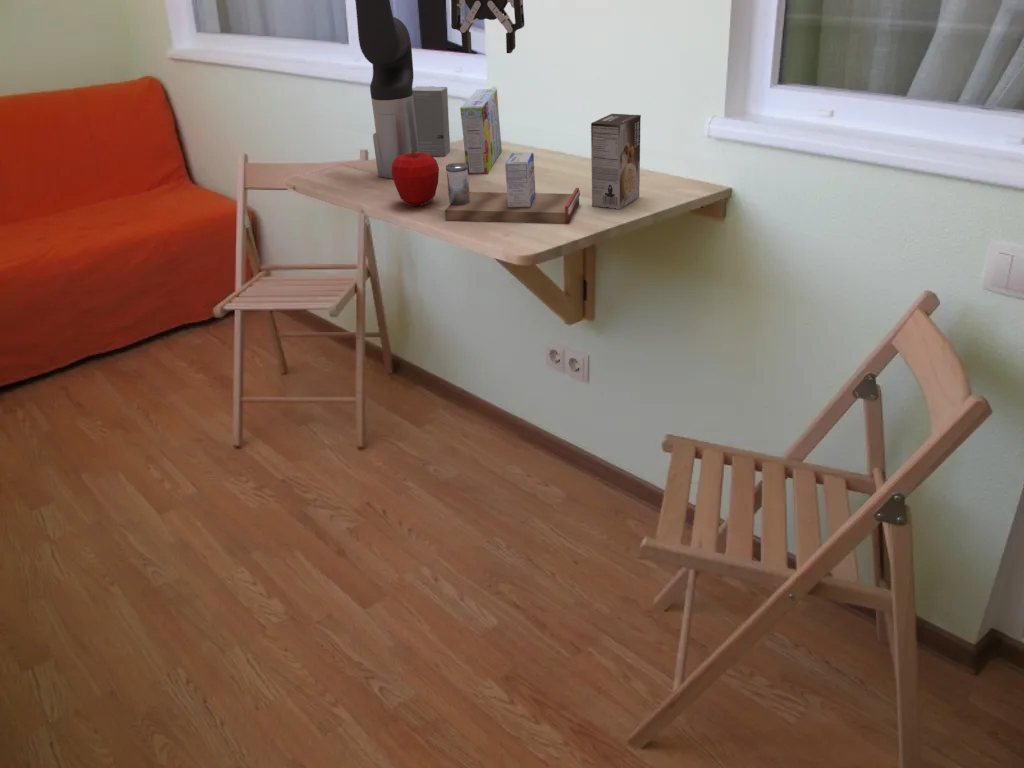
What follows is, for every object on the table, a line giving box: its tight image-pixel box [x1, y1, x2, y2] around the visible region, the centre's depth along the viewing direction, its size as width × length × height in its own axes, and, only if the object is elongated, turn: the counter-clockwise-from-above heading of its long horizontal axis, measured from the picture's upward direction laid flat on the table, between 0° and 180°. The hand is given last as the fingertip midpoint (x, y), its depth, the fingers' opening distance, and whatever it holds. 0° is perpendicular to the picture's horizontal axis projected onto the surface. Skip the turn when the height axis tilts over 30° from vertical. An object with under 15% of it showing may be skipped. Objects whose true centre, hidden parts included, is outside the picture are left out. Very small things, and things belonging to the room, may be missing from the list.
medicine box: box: [504, 151, 536, 208], centre depth 156 cm, size 8×4×9 cm, turn 171°
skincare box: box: [412, 85, 451, 157], centre depth 201 cm, size 8×7×16 cm
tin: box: [445, 162, 470, 205], centre depth 159 cm, size 4×4×7 cm
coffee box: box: [590, 113, 642, 210], centre depth 158 cm, size 9×6×16 cm
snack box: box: [459, 88, 503, 175], centre depth 191 cm, size 21×6×15 cm, turn 172°
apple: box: [391, 151, 440, 207], centre depth 165 cm, size 10×10×11 cm
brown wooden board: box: [444, 187, 581, 224], centre depth 159 cm, size 24×12×3 cm, turn 76°
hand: (488, 52), depth 162 cm, fingers open, 8 cm apart
